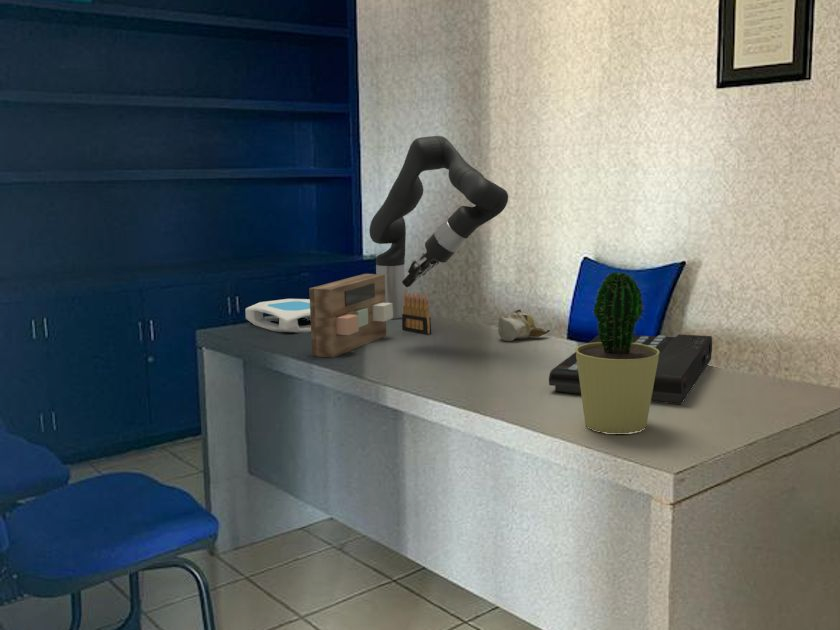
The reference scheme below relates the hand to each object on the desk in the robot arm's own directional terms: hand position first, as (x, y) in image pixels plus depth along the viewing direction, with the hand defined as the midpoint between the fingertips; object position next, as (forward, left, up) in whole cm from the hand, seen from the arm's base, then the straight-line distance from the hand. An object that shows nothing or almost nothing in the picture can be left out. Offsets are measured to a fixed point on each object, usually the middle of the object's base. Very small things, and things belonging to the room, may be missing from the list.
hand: (405, 284), depth 231 cm
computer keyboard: (-25, +59, -18) cm, 66 cm away
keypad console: (+10, -12, -17) cm, 23 cm away
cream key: (-1, -15, -12) cm, 19 cm away
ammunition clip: (-14, -16, -18) cm, 28 cm away
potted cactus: (+8, +83, -18) cm, 85 cm away
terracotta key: (+17, -5, -12) cm, 21 cm away
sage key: (+9, -12, -12) cm, 19 cm away
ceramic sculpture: (-32, +10, -18) cm, 38 cm away
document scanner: (+8, -52, -18) cm, 56 cm away
